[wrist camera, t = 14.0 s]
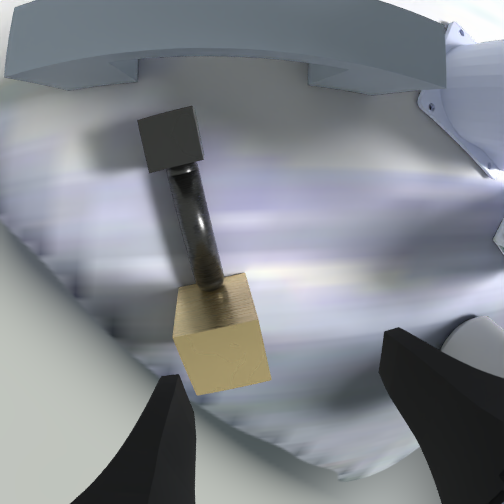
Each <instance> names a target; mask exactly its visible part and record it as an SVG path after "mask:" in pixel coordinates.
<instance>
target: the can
mask: <svg viewBox="0 0 504 504" xmlns="http://www.w3.org/2000/svg"><path fill="white" fill-rule="evenodd" d="M440 351H442V352H444V353H446V354H447V355H449V356H451V357H453V358H455V359H457V360H459V361H461V362H463V363H466V364H468V365H470V366H472V367H474V368H477V369H479V370H482V371H484V372H487V373H490V374H493V375H495V376H499V377H502V378H504V330H503V329H502V328H501V327H500V326H499V325H497V324H496V323H495V322H494V321H493V320H491V319H490V318H489V317H488V316H479V317H476V318H473V319H470V320H467V321H465V322H464V323H462V324H460V325H459V326H458V327H457V328H456V329H455V330H454V331H453V332H452V333H451V334H450V335H449V337H448V338H447V339H446V340H445V342H444V344H443V346H442V348H441V350H440Z"/></svg>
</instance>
